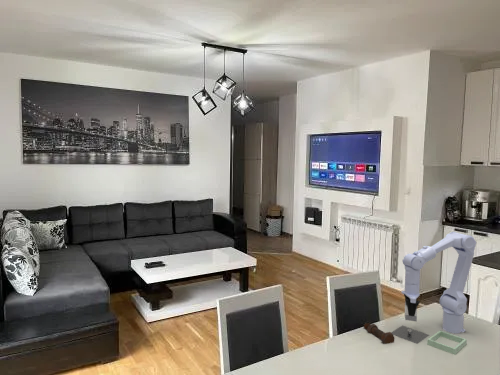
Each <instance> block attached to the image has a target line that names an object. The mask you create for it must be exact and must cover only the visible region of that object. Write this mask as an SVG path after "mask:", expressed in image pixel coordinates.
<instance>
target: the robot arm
mask: <svg viewBox="0 0 500 375" xmlns="http://www.w3.org/2000/svg"><path fill="white" fill-rule="evenodd" d="M476 245H477V240H476V238H474V236H473V235H470V234H465V233H460V232H456V231H450V232H449V233H447V234H446V235H445V236H444V237H443V238H442V239H440V240H439V241H438V242H435V243H434V244H433V245H431V246H429V245H423V246H422V248H420V249H418V250H415V251H413V253H407V254H405V255H404V256H403V259H402V264H403V266H404V270H405V272H404V274H405V276H404V290H401V294H402V295H403V297H404V303H405V302H406V304H407V307H408V314H409V316H415V312H416V309H417V310H418V306H419V305H420V303H421V302H420V300H418V298H419V296H420V286H421V285H420V281H421V280H420V279H421V270H422V269H423V268H424V265H425V264H426V263H428V262H429V261H431V260H433V259H435V258H436V257H437V254H438V253H441V252H443V251H445V250H448V249H449V248H452V249H454V250H455V251H456V253H457V254H458V256H457V259H456V264H455V267H454V271H453V274H452V278H451V281H450V284H449V288H447V289H445V290H443V293H442V295H441V296H440V297H439V305H440V306H441V309H442V326H441V327H442V330H444V332H446V333H450V334H460V333H465V332H466V329H465V328H464V322H465V321H464V318H465V315H464V314H465V313H466V312H467V310H468V309H467V308H468V307H467V302H468V298H467V297H466V296H465V293H464V290H465V287H466V283H467V281H468V277H469V273H470V269H471V266H472V263H473V261H474V256H475V249H476Z"/></svg>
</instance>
